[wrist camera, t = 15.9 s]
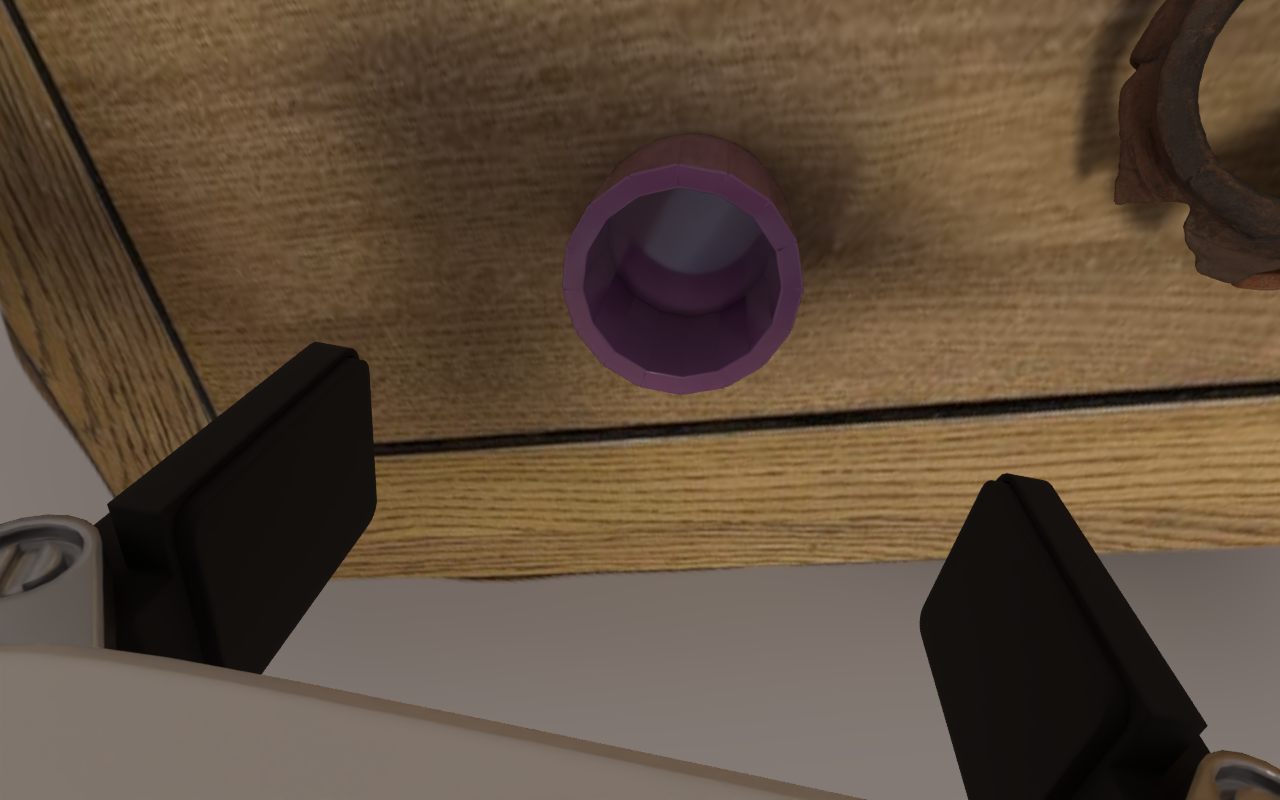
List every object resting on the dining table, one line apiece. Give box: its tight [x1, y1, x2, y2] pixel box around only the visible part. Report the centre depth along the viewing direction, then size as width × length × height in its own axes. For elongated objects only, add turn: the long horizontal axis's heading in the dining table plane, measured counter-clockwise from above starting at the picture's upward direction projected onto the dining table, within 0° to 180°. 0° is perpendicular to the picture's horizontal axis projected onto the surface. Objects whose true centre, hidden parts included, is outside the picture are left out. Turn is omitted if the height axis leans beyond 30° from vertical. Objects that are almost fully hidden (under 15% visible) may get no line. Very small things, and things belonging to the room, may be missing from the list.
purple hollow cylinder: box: [562, 134, 804, 395], centre depth 21 cm, size 6×6×5 cm
